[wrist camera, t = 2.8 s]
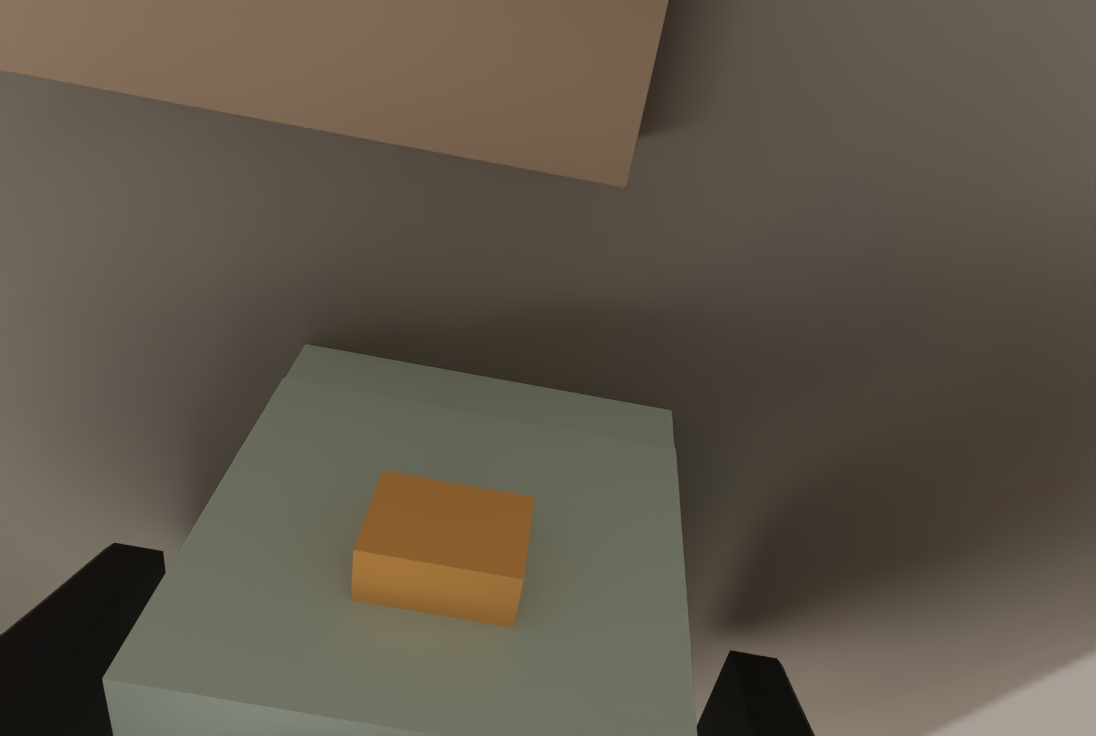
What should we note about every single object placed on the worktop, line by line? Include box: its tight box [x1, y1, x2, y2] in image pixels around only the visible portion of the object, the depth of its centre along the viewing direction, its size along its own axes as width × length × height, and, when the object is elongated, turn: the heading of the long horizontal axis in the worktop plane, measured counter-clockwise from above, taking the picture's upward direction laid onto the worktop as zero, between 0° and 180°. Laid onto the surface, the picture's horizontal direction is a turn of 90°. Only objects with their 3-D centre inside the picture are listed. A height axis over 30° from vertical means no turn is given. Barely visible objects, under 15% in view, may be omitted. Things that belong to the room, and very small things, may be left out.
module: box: [102, 344, 697, 736], centre depth 10 cm, size 7×4×5 cm, turn 171°
